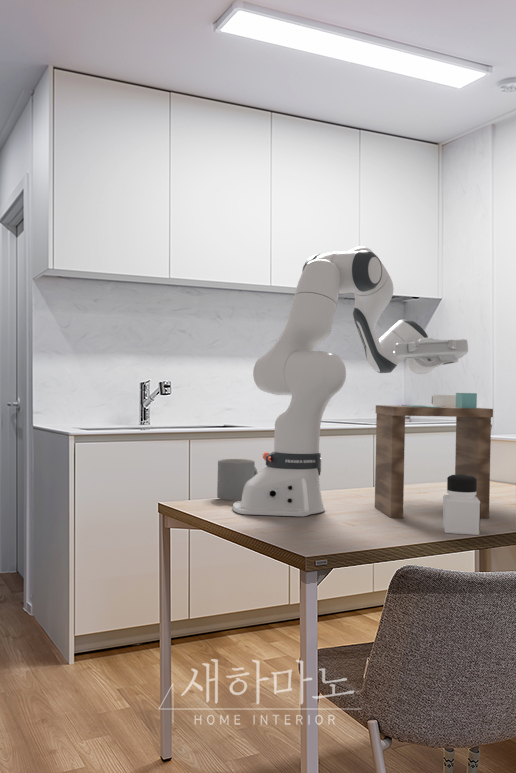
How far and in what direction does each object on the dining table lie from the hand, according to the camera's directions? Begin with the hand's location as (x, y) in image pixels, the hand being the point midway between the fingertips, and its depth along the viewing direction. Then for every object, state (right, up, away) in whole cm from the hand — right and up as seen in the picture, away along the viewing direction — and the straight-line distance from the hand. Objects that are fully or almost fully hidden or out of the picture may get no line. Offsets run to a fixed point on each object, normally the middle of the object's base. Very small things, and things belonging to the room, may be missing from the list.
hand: (434, 343), depth 190 cm
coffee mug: (-53, -42, 0) cm, 68 cm away
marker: (+1, -17, -13) cm, 21 cm away
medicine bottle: (-5, -43, -41) cm, 59 cm away
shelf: (-6, -43, -19) cm, 47 cm away
